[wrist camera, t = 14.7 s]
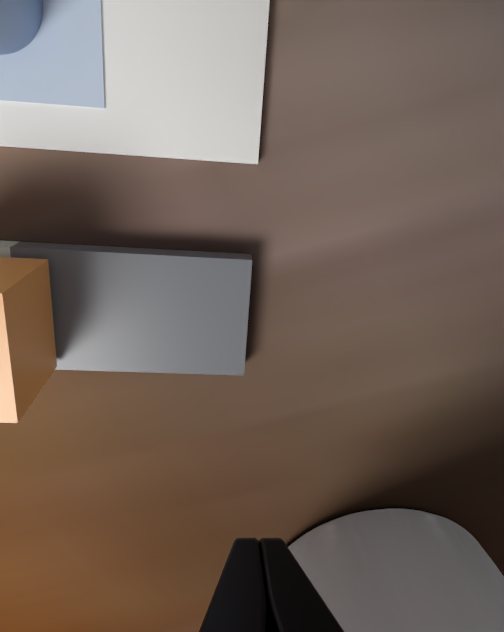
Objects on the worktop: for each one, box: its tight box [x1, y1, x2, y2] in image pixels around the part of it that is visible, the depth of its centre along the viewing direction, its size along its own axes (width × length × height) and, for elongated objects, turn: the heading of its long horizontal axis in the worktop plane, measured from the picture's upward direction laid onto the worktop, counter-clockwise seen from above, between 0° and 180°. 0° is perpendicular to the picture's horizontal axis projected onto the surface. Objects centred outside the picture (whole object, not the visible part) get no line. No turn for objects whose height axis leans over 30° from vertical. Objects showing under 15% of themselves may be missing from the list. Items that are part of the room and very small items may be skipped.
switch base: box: [0, 240, 252, 375], centre depth 18 cm, size 14×5×3 cm, turn 86°
